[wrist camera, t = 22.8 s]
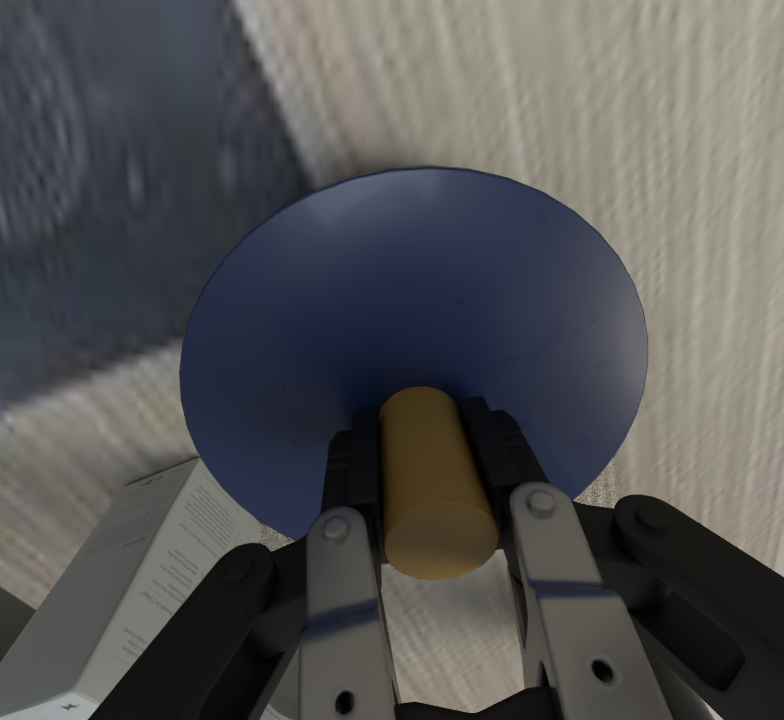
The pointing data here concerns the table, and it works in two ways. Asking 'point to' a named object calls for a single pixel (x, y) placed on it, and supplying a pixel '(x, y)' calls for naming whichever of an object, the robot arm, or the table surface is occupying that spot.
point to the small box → (121, 592)
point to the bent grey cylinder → (285, 695)
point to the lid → (412, 352)
